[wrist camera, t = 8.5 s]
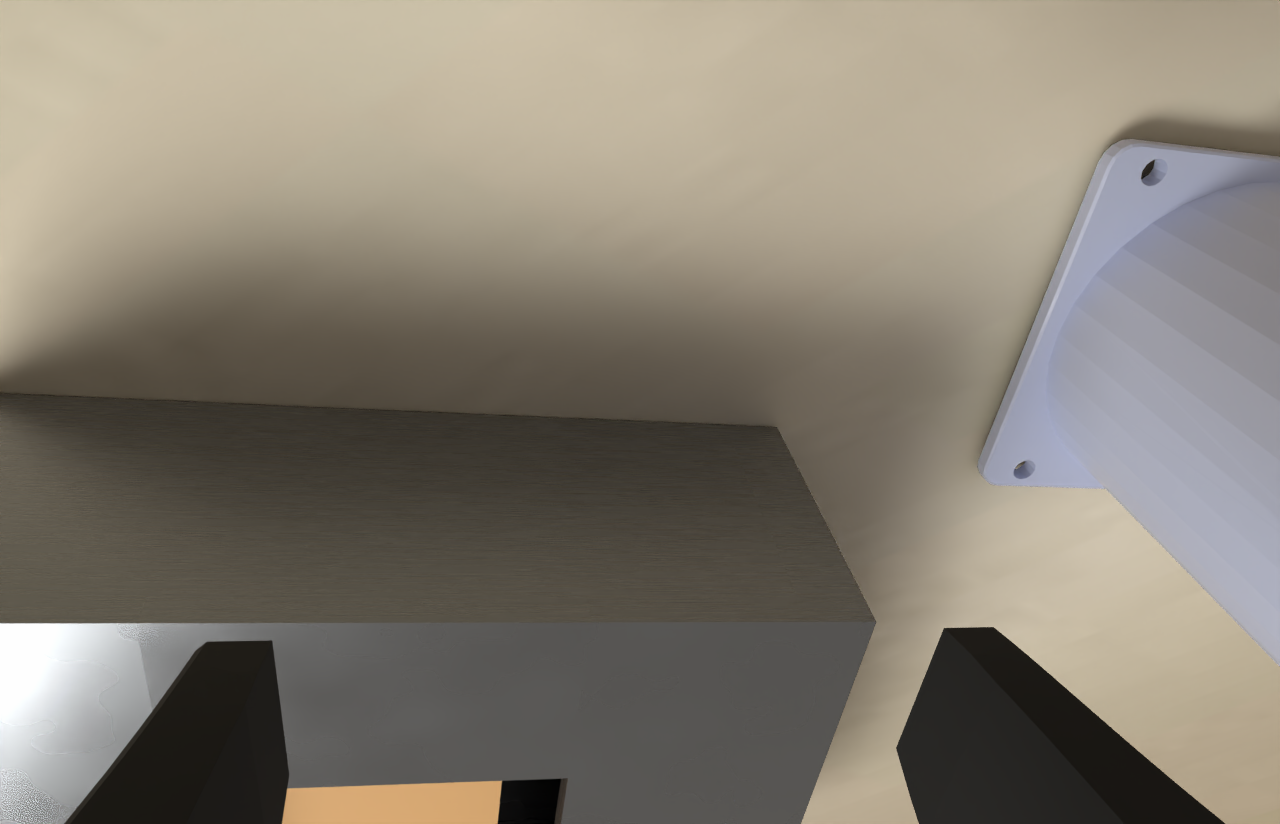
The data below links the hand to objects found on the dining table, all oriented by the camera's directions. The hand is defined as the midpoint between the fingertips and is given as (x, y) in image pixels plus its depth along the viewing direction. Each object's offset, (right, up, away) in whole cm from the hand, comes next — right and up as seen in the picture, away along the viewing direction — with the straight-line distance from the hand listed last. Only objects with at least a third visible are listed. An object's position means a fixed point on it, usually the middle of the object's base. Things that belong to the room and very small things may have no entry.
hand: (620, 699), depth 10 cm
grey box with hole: (-6, -3, +12) cm, 14 cm away
